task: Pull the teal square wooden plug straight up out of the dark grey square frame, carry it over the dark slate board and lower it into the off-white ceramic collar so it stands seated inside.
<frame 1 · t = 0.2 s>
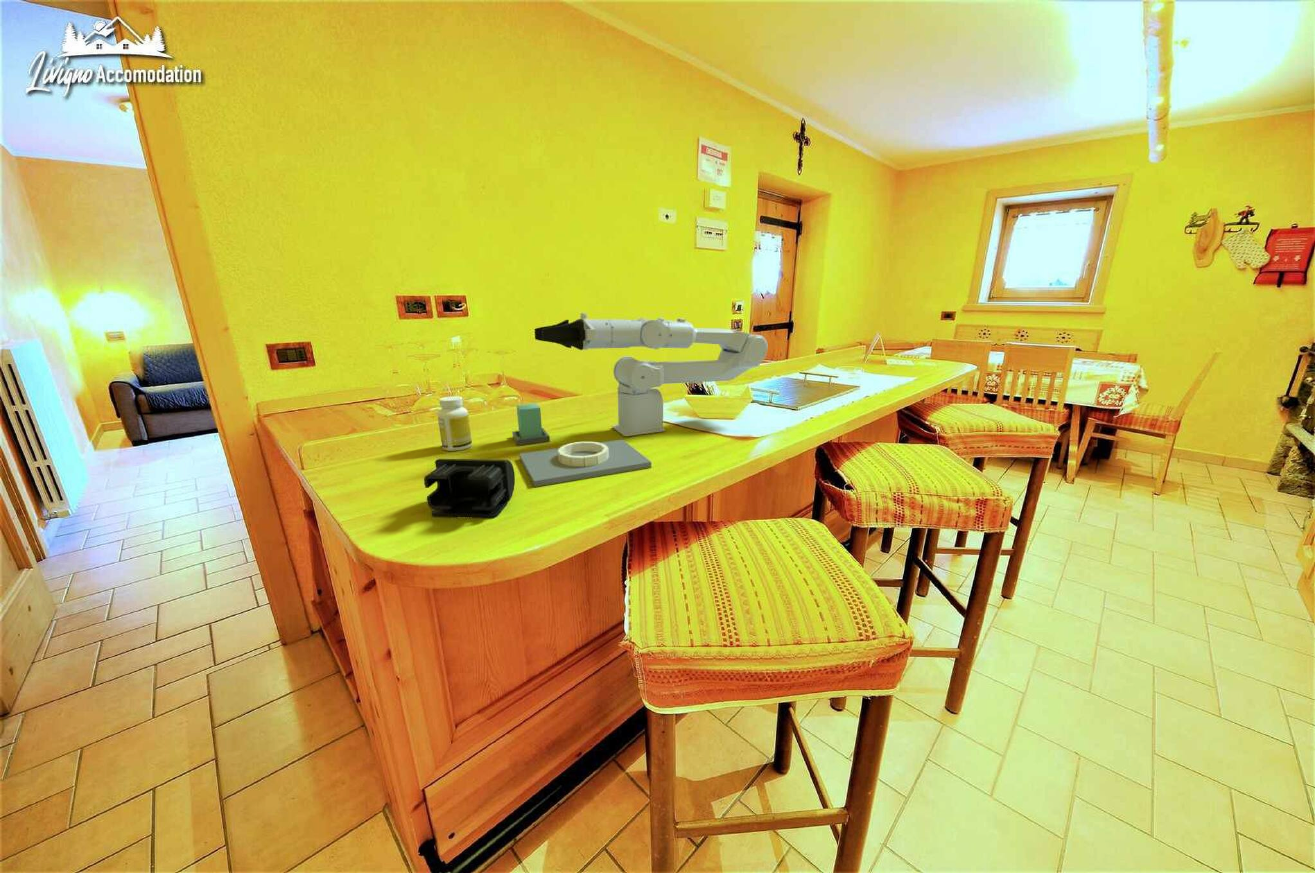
hand: (538, 334, 86), 21 cm above the table, tool horizontal, fingers open, 7 cm apart
supplement bottle: (457, 448, 89), on the table
dark grey square frame: (531, 439, 94), on the table
plug: (529, 423, 93), in the dark grey square frame
end cap: (474, 507, 65), on the table
socket board: (584, 462, 81), on the table
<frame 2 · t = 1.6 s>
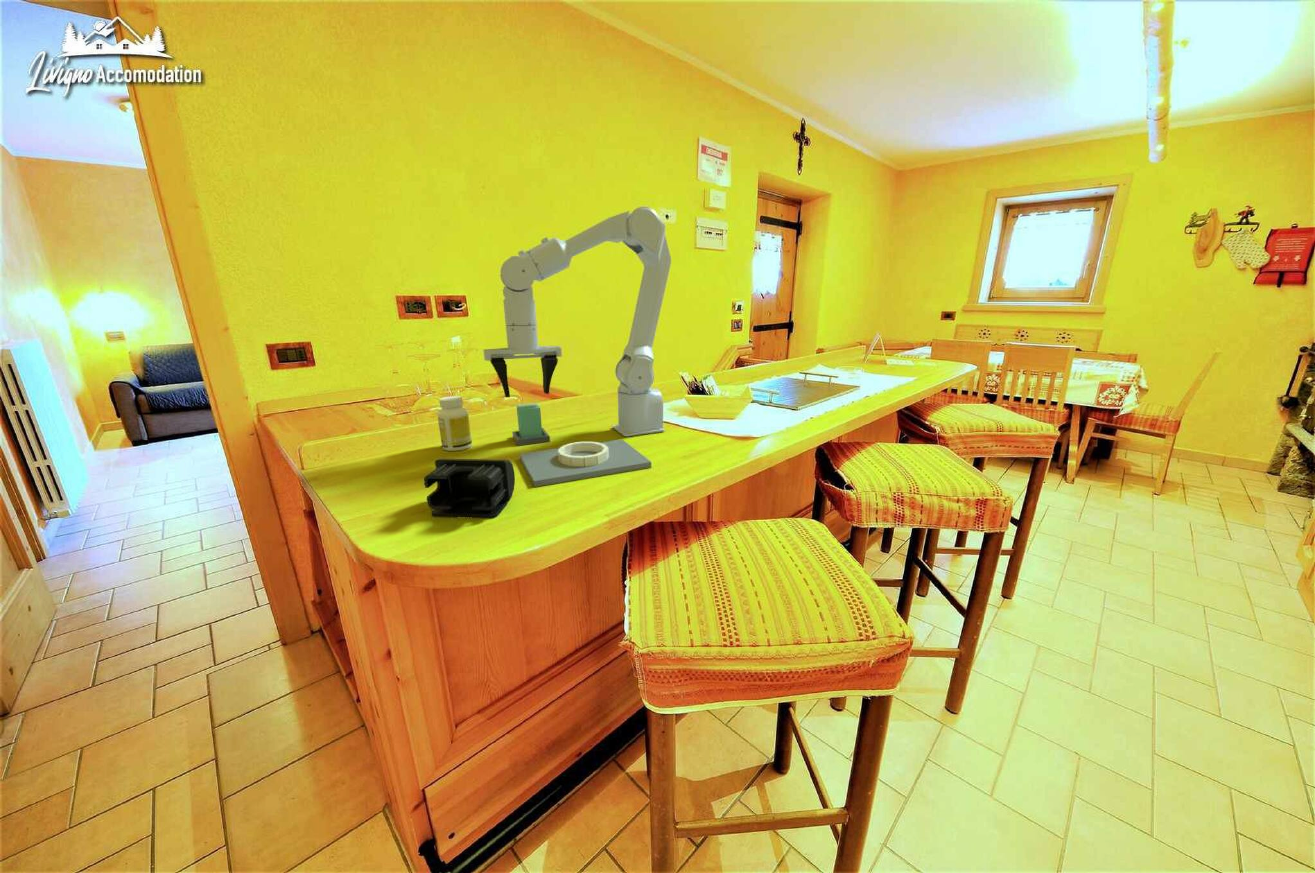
hand: (527, 394, 91), 9 cm above the table, tool pointing down, fingers open, 7 cm apart
nothing on the table moved.
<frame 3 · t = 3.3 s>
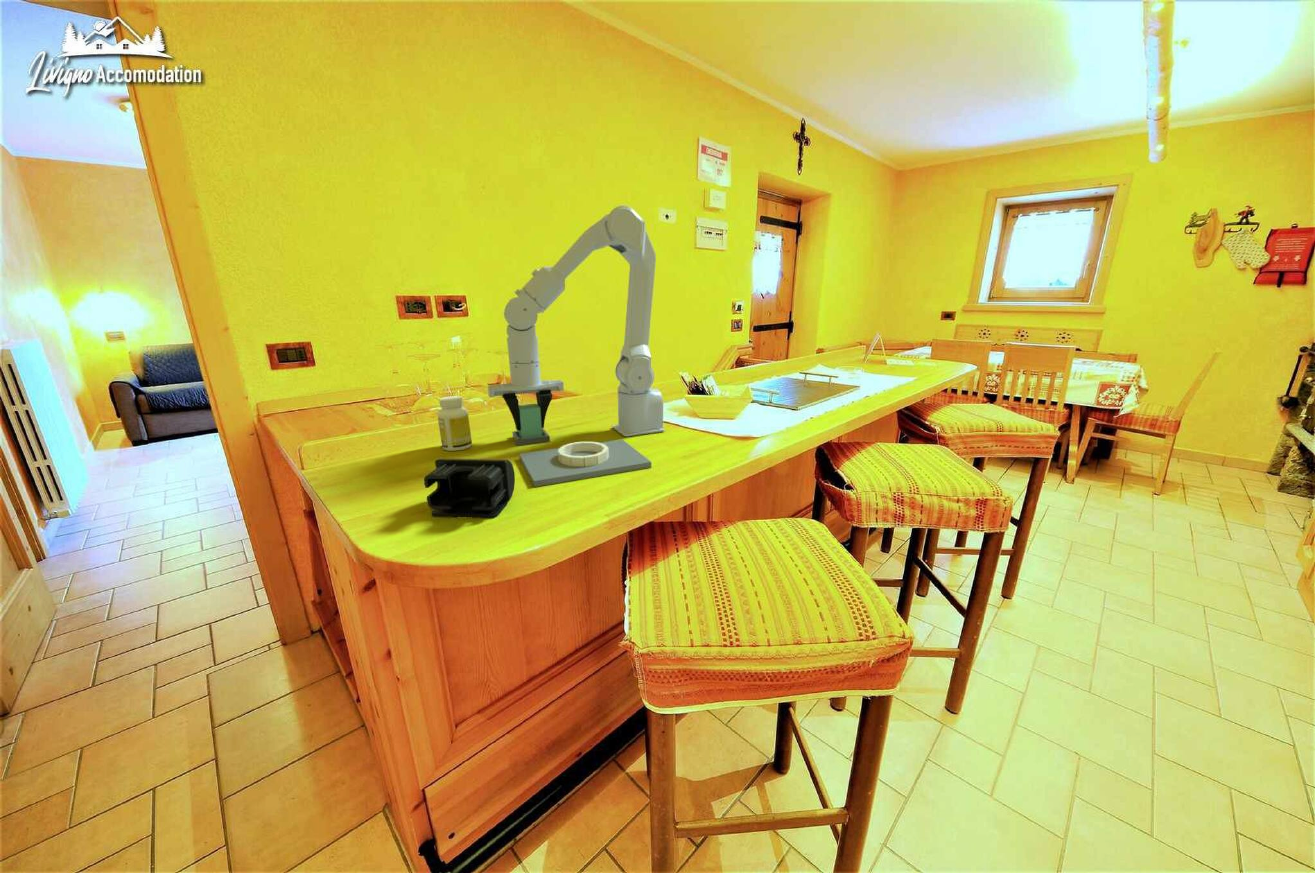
hand: (530, 428, 93), 2 cm above the table, tool pointing down, fingers closed on plug, 4 cm apart
plug: (529, 423, 93), in the dark grey square frame, touching gripper
everything else where it was.
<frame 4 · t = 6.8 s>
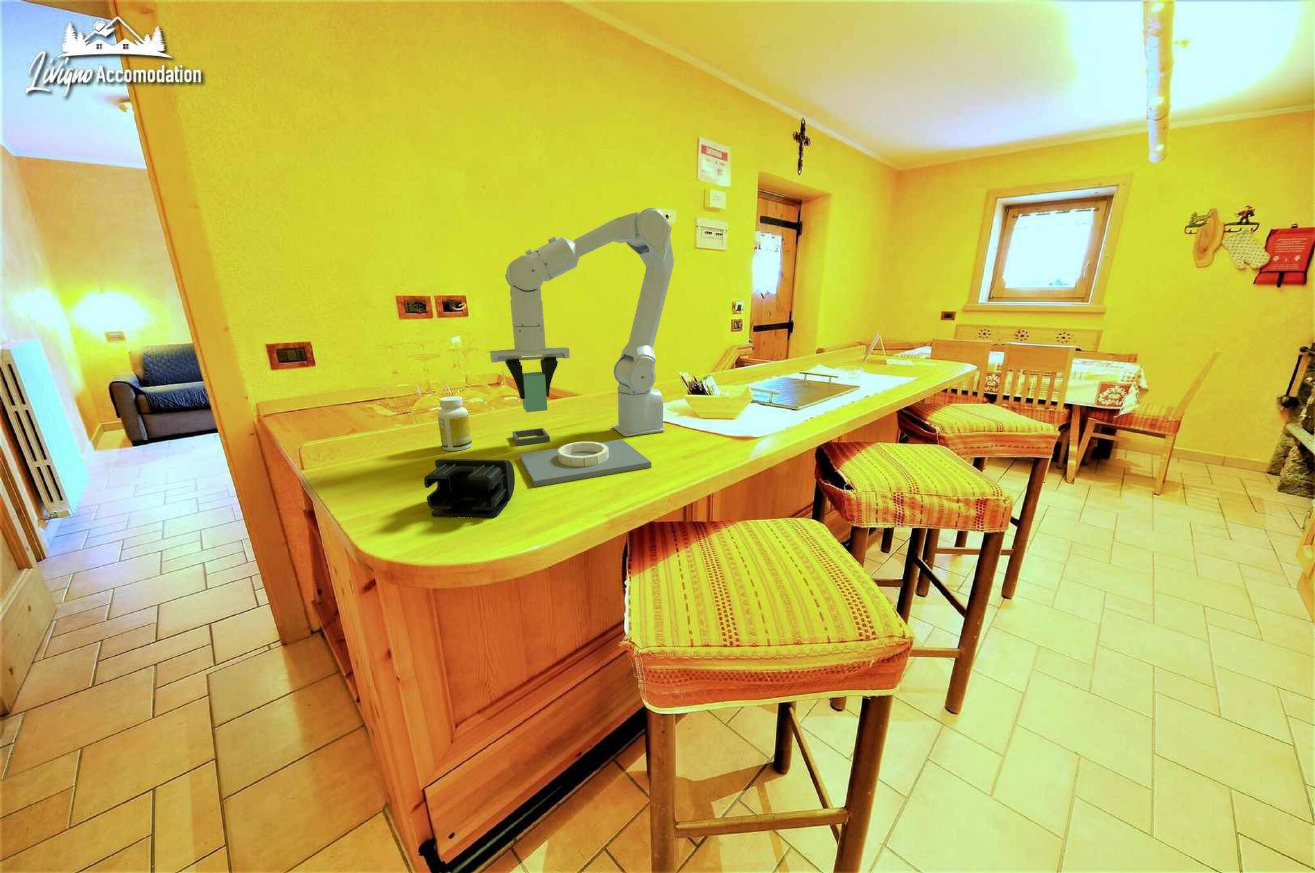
hand: (534, 397, 89), 9 cm above the table, tool pointing down, fingers closed on plug, 4 cm apart
plug: (533, 391, 89), point 10 cm above the table, touching gripper
everything else where it was.
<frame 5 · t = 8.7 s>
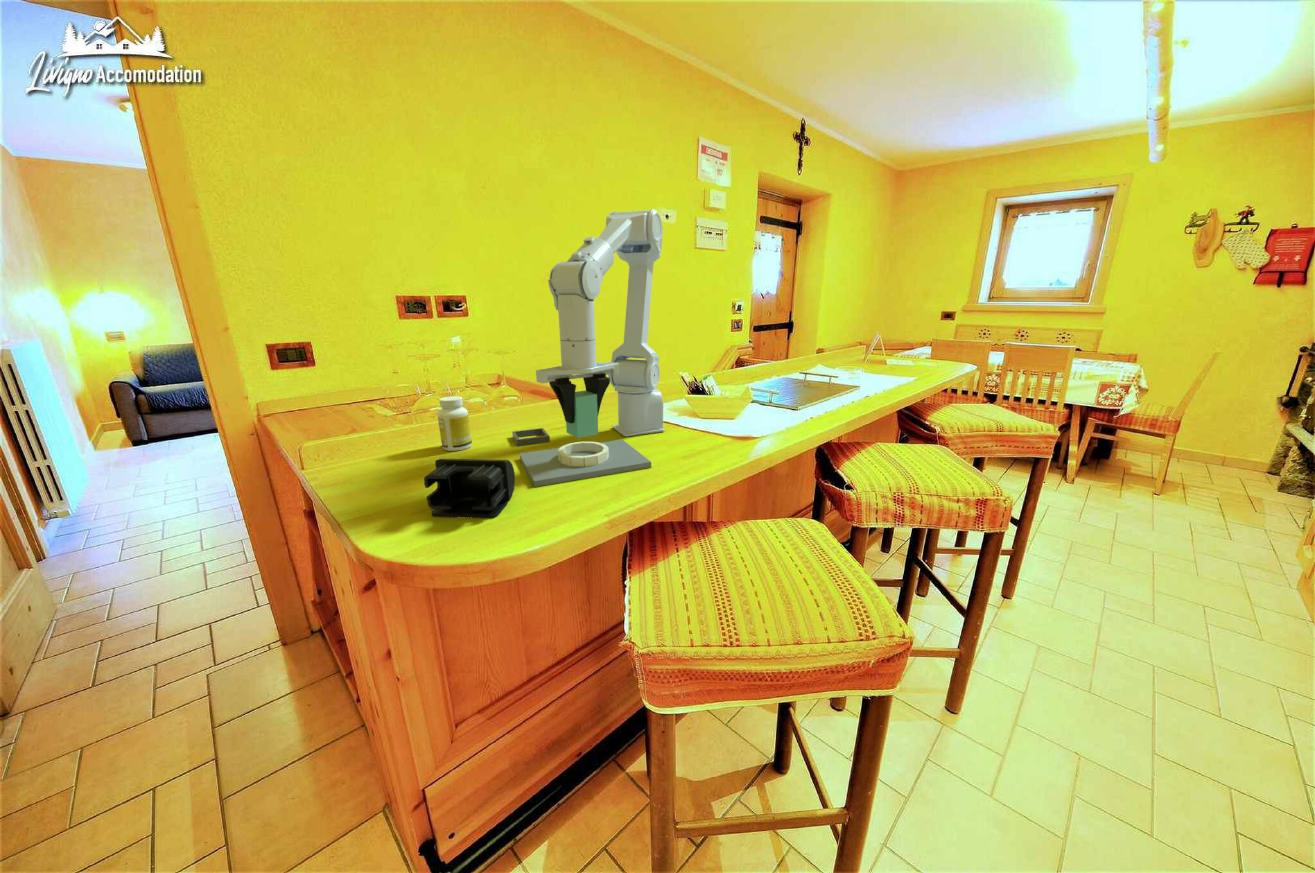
hand: (581, 419, 78), 8 cm above the table, tool pointing down, fingers closed on plug, 4 cm apart
plug: (581, 413, 78), point 9 cm above the table, touching gripper
everything else where it was.
when the fingers open (4 cm above the table, at t = 10.4 s): plug stays where it is, resting on socket board.
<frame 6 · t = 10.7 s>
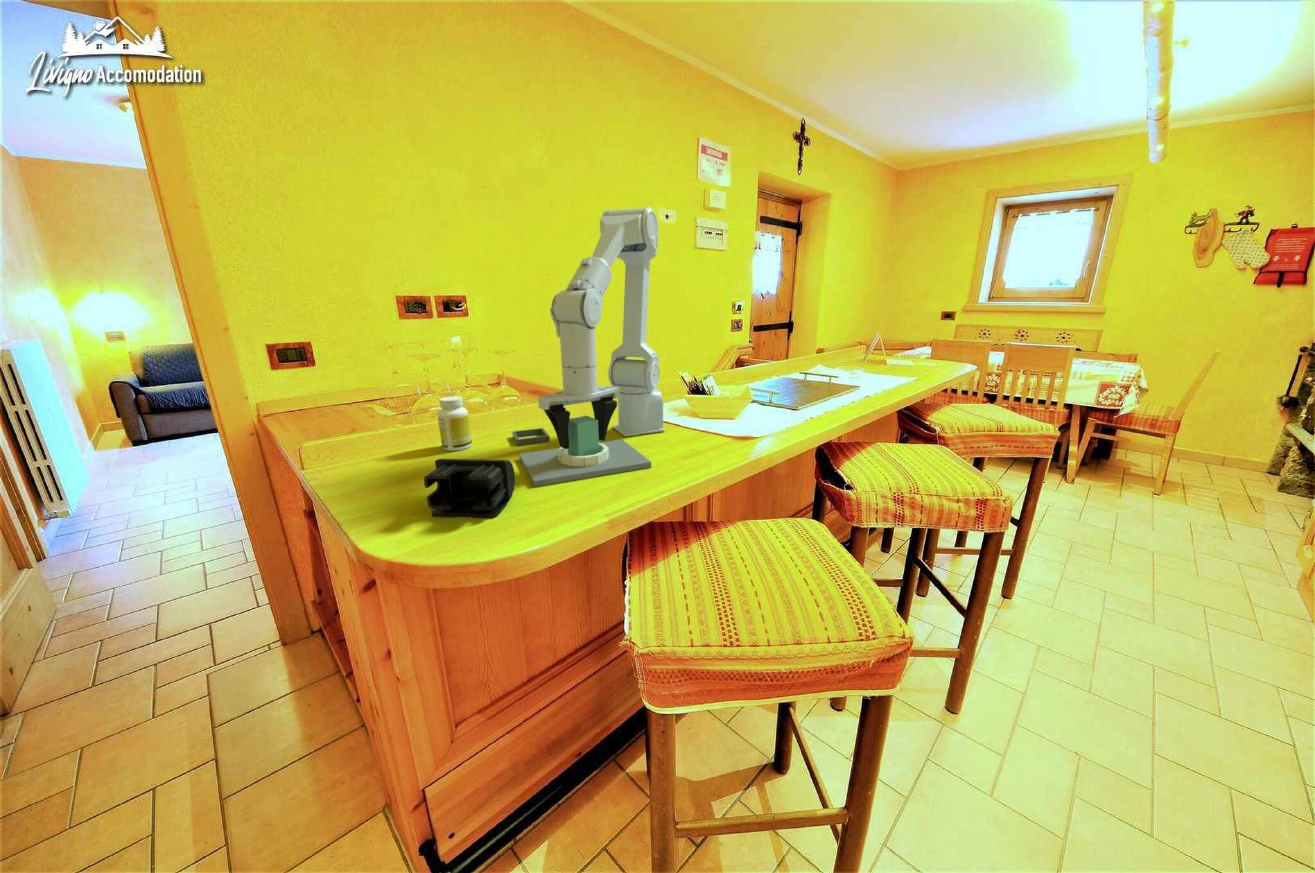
hand: (583, 443, 80), 4 cm above the table, tool pointing down, fingers open, 7 cm apart
plug: (582, 438, 79), in the socket board, point 4 cm above the table
everything else where it was.
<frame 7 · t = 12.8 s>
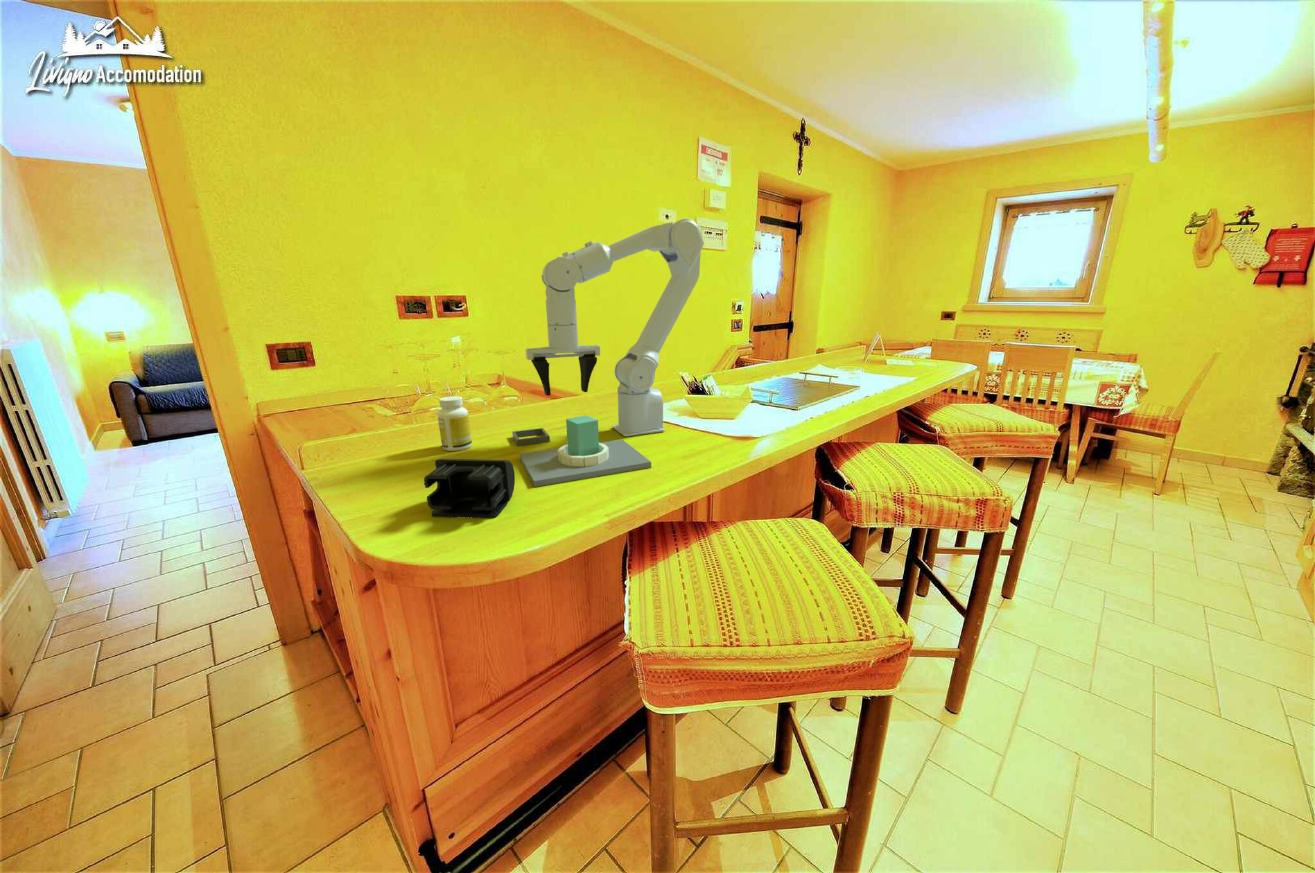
hand: (566, 393, 93), 9 cm above the table, tool pointing down, fingers open, 7 cm apart
nothing on the table moved.
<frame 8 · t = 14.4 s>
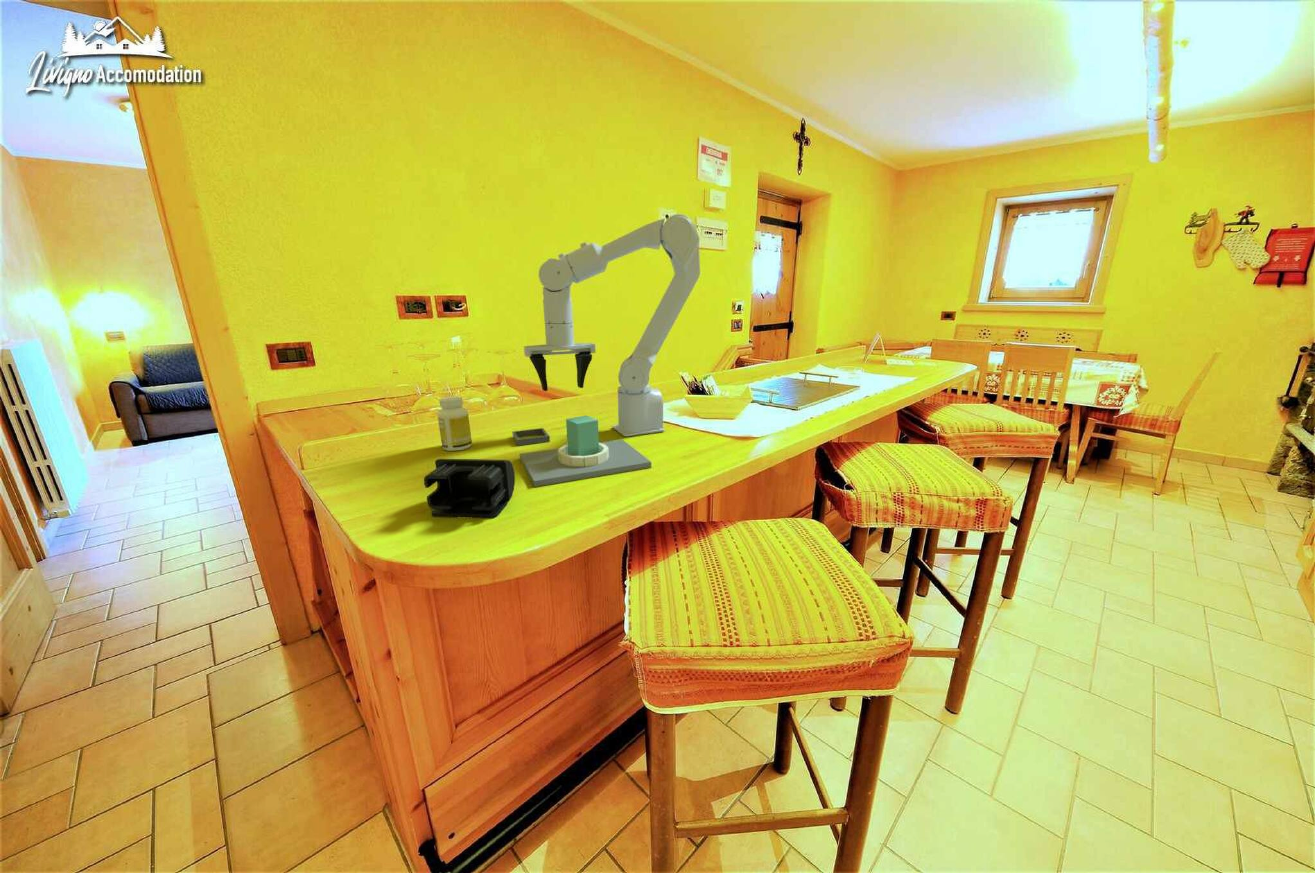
hand: (562, 388, 97), 9 cm above the table, tool pointing down, fingers open, 7 cm apart
nothing on the table moved.
at the end: plug 0.0 cm off-centre on the socket board, point 4.5 cm above the socket board's base; plug tilted 0°; the gripper is holding nothing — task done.
